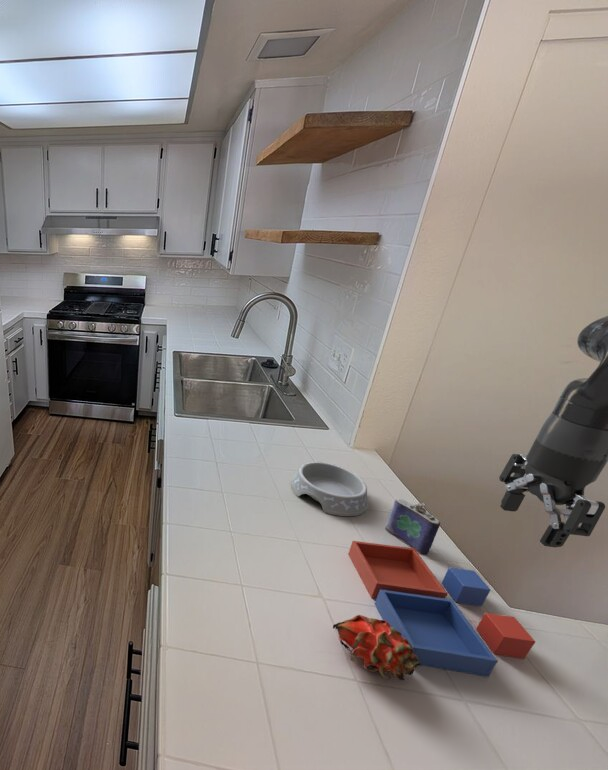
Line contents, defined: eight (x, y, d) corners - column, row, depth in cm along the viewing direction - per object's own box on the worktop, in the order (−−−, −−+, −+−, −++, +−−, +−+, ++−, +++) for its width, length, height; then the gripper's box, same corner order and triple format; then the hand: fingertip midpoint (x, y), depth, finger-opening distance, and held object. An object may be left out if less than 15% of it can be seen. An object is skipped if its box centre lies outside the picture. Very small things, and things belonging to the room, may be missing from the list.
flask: (382, 528, 94) (395, 493, 90) (390, 525, 95) (404, 490, 91) (423, 556, 86) (440, 519, 82) (431, 553, 87) (448, 515, 83)
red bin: (408, 561, 85) (414, 548, 83) (440, 608, 74) (447, 593, 73) (348, 554, 87) (352, 540, 85) (371, 597, 76) (376, 583, 75)
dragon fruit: (415, 695, 62) (330, 655, 70) (420, 639, 65) (338, 606, 73) (421, 693, 56) (327, 649, 64) (426, 631, 60) (336, 597, 67)
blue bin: (444, 614, 73) (452, 599, 72) (488, 676, 63) (498, 661, 62) (374, 603, 75) (379, 589, 74) (405, 662, 65) (412, 647, 64)
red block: (503, 633, 70) (514, 616, 68) (524, 659, 66) (536, 641, 64) (475, 629, 70) (485, 612, 69) (494, 654, 66) (504, 636, 65)
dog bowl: (312, 467, 117) (316, 452, 115) (379, 501, 103) (385, 484, 101) (278, 486, 109) (282, 471, 107) (346, 526, 95) (351, 508, 92)
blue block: (466, 586, 79) (474, 570, 77) (481, 606, 75) (491, 589, 73) (441, 583, 80) (448, 567, 78) (455, 602, 75) (464, 586, 74)
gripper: (653, 475, 52) (593, 563, 59) (560, 425, 65) (519, 502, 71) (586, 468, 54) (535, 555, 60) (508, 421, 67) (472, 496, 73)
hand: (526, 526), depth 66 cm, fingers open, 8 cm apart
